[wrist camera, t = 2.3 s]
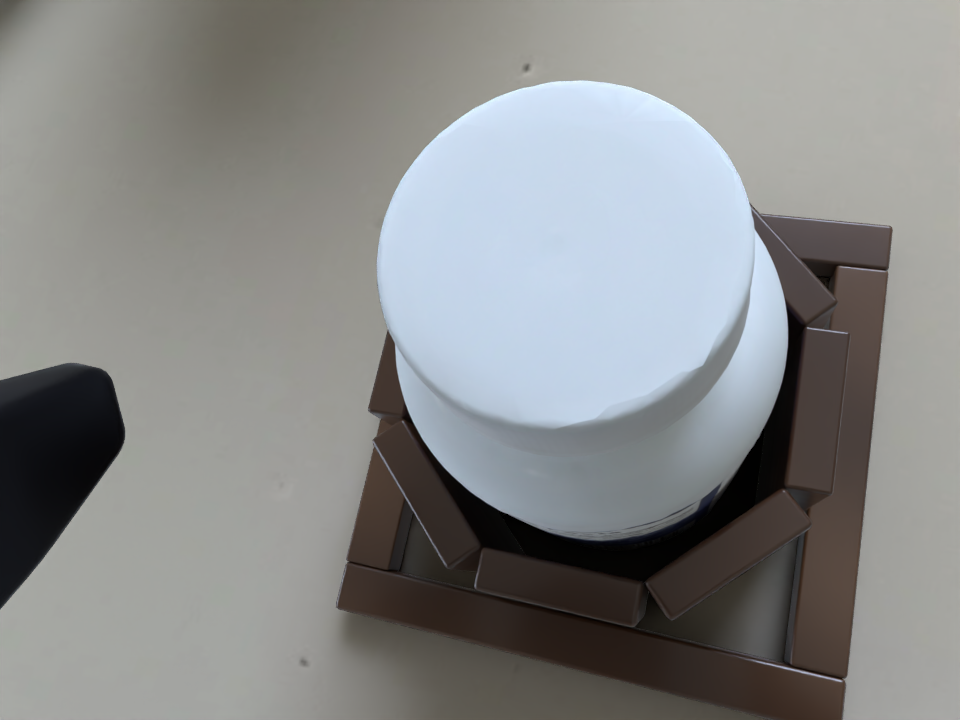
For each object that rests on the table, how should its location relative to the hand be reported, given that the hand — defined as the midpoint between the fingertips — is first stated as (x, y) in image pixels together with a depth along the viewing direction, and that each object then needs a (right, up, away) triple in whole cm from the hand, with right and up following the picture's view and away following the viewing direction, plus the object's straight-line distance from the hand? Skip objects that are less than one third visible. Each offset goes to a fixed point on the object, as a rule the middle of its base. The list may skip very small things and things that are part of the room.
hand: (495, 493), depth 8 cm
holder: (+3, 0, +10) cm, 10 cm away
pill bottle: (+3, 0, +10) cm, 10 cm away
